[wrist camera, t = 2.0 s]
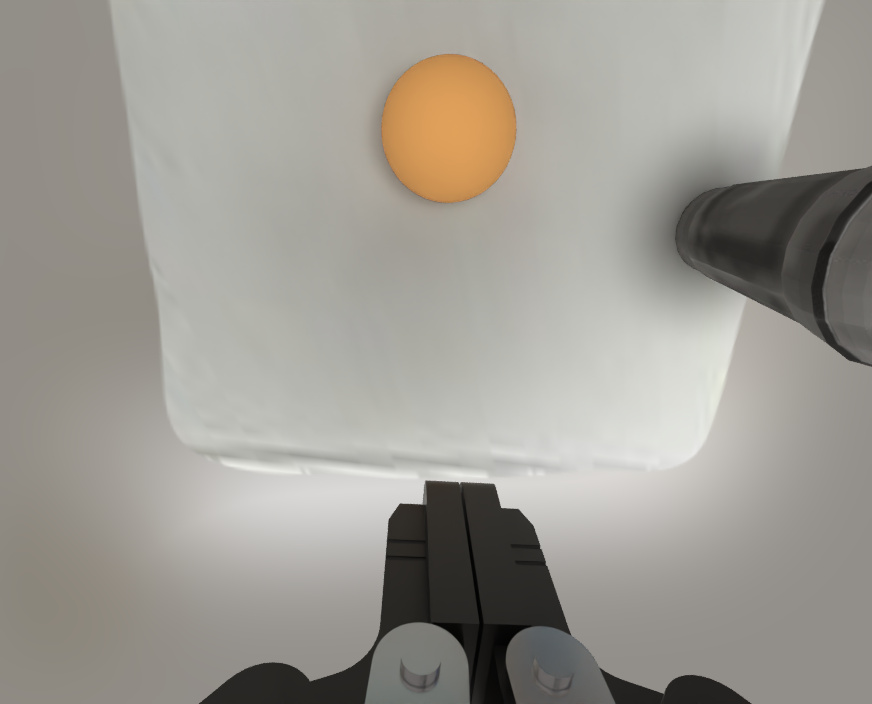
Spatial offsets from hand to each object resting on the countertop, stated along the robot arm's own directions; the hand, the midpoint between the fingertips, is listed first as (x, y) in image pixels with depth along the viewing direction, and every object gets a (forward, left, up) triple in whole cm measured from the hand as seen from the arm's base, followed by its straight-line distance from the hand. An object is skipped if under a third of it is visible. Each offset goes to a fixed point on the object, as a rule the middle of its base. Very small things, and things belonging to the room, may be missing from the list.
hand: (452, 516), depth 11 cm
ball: (-9, 0, -15) cm, 17 cm away
